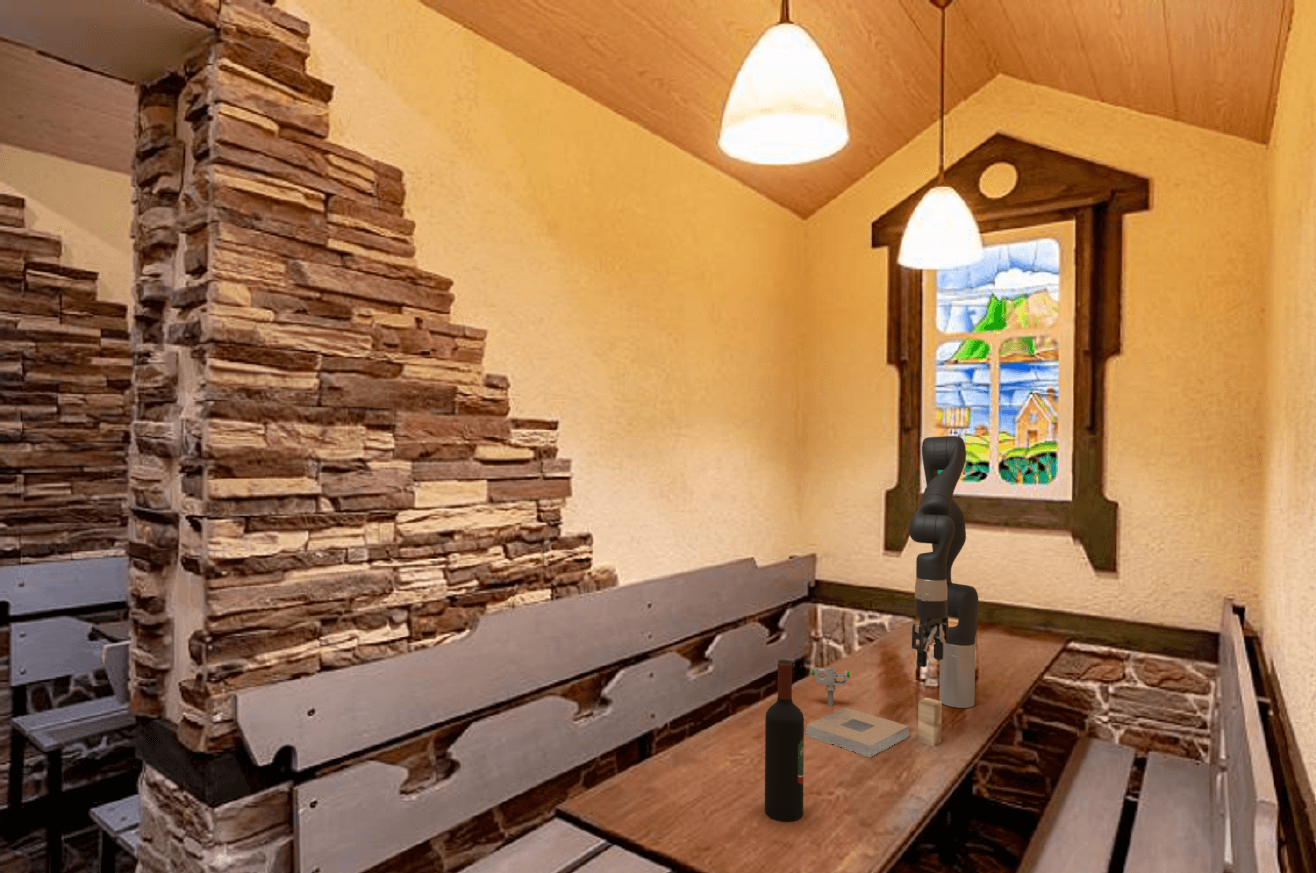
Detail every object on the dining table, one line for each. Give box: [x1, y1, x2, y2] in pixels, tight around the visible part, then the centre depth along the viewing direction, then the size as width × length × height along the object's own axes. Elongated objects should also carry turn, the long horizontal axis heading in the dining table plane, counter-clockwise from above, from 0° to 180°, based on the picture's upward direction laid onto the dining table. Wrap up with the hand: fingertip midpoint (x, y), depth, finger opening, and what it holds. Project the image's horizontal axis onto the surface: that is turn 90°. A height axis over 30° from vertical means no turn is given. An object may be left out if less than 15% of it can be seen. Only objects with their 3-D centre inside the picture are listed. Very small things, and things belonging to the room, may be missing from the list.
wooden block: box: [917, 697, 943, 747], centre depth 193 cm, size 4×4×10 cm
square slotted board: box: [805, 707, 910, 759], centre depth 196 cm, size 18×18×3 cm
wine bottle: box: [764, 659, 805, 823], centre depth 157 cm, size 8×8×30 cm
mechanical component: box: [811, 666, 851, 708], centre depth 218 cm, size 3×10×10 cm, turn 78°
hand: (930, 662), depth 193 cm, fingers open, 8 cm apart
